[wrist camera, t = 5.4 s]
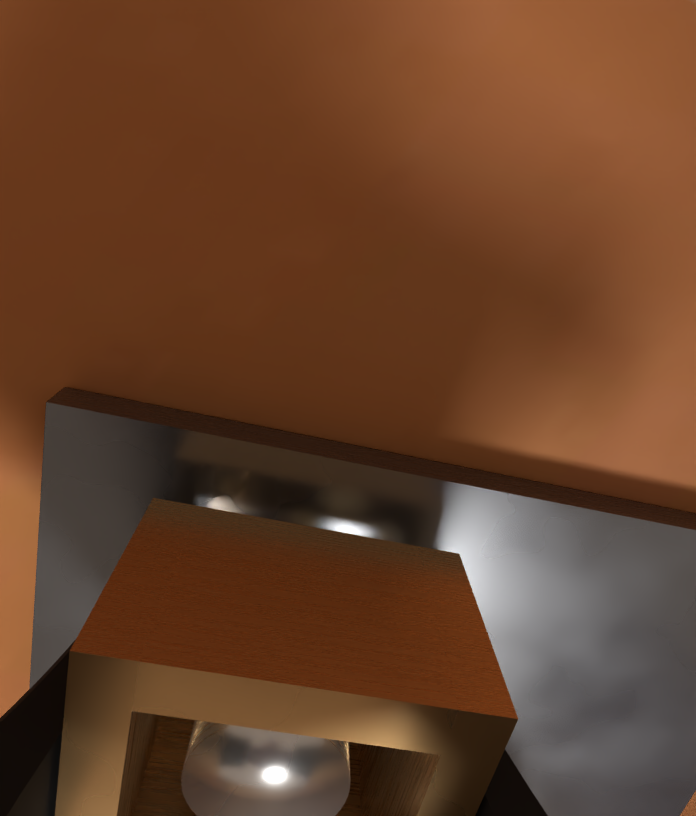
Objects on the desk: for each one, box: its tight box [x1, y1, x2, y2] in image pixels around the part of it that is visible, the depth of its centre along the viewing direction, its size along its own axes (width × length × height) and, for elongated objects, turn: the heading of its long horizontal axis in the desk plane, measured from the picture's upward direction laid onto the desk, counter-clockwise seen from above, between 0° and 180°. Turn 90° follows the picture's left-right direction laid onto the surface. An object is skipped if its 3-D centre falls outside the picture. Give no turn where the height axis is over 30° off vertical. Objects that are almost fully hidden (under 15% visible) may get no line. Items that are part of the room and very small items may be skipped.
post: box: [181, 720, 350, 816], centre depth 11 cm, size 3×3×4 cm
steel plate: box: [30, 387, 696, 816], centre depth 14 cm, size 16×11×1 cm
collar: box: [55, 498, 518, 816], centre depth 10 cm, size 6×6×4 cm
